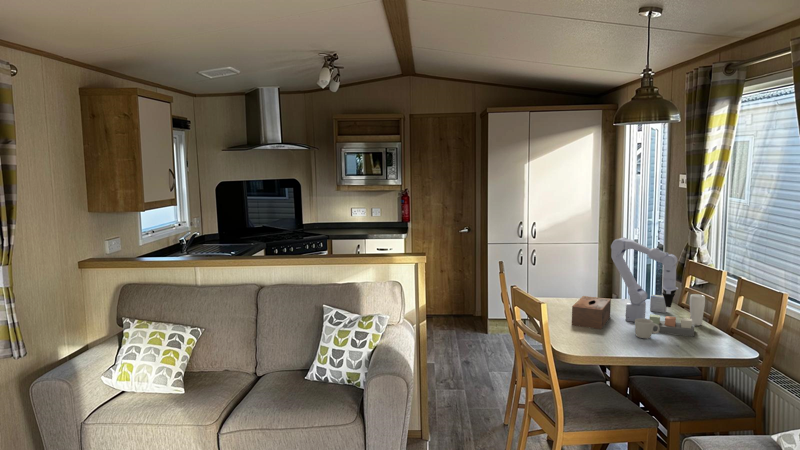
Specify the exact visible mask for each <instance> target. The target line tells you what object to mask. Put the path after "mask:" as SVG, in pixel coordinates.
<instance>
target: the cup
mask: <svg viewBox="0 0 800 450" xmlns="http://www.w3.org/2000/svg"><path fill="white" fill-rule="evenodd" d="M634 326H635V336H636V337H637V338H640V339H650V338H651V337H652V335H654V334H658V333H660V332H659V330H660V328H659V325H657V324H655V323H653V321H652V320H649V318H646V319H642V318H640V319H635V322H634ZM654 326H657V328H658V330H657V331H656V332H654V331H653V327H654Z"/></svg>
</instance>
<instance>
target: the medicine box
mask: <svg viewBox="0 0 800 450" xmlns="http://www.w3.org/2000/svg"><path fill="white" fill-rule="evenodd" d="M649 306H650V307H649V311H650V312H653V313H654V312H656V313H664V314H666V313H667V308H668V307H666V304H665V299H664V296H663V295H661V294H660V295H659V294H651V295H650V305H649Z"/></svg>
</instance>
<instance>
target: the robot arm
mask: <svg viewBox="0 0 800 450" xmlns="http://www.w3.org/2000/svg"><path fill="white" fill-rule="evenodd" d="M610 249H611V259H612V261H613V264H614V265H615V267H616V270H617V271H618V273H619V275H620V277H621V278H622V280H623V282H624V284H625V285H626V287H627V293H628V295H629V301H630V302H626V305H625V321H626V322H627V321H628V322H632V323H633V322H634V323H635V319H640V318H642V319H647V317H646V306H647V304H646V300H647V299H648V293H647V291H645V290H644V289H643V288H642V286H641V285H639V284H638V282H637V281H636V278H635V277H634V275H633V273H632V272H631V269H630V268H629V265H628V263H627V262H626V260H625V258H624V256H625V253H626V251H627V250H634V251H637V252H640V253H642V254H645V255H647V257H648V258H649V259H651V260H653V261H655V262H657V263H660V264H662V265H663V273H662V274H663V277H662V278H663V279H662V289H663V291H664V292H662V293H661V294H662V296H664V299H665V304H666V307H667V308H671V307H672V303H673V301H674V297H675V294H676V291H677V290H679V287H677V286H676V285H677V264H678V260H679V259H678V257H677V256H676V254H673V253H669V252H668V251H667V252H665V251H663V250H660V248H659V247H652V248H649V247H647V246H645V245H643V244H641V243H639V242H637V241H635V240H632V239H630V238H627V237H620V238H616V239H614V240H613V241H612V243H611V244H610Z"/></svg>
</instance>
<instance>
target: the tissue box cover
mask: <svg viewBox="0 0 800 450" xmlns="http://www.w3.org/2000/svg"><path fill="white" fill-rule="evenodd" d="M611 304H612V298H606V297H605V298H604V297H595V296H587V295H583V296H581V297H580V298H579V299H578V300H577V301H576V302H575V303H574V304H573V305H572V307H571V326H574V327H575V326H576V327H583V328H589V327H590V329H598V330H602V329H603V328H604V326H605V325H606V323H607V322H608V321H609V319H610V318H611Z"/></svg>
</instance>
